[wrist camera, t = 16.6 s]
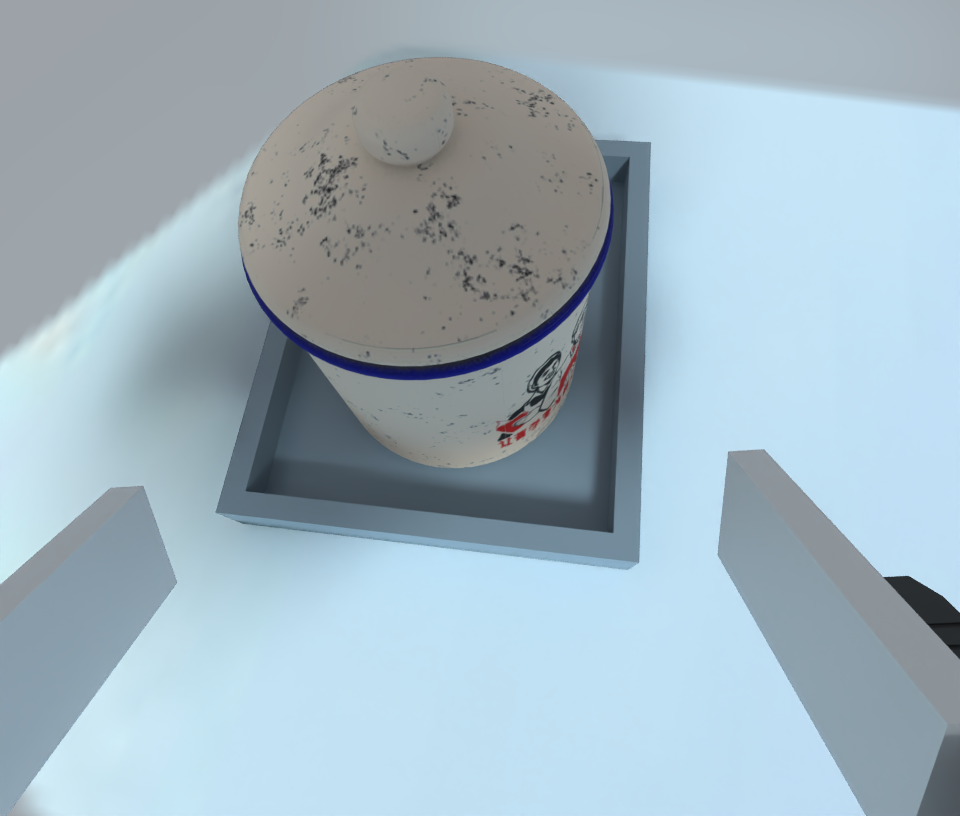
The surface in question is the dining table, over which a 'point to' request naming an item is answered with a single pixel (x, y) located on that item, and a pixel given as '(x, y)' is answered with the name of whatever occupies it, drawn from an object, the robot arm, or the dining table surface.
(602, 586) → the dining table surface
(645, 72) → the dining table surface
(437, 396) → the teacup with lid
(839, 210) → the dining table surface
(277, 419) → the slate tray
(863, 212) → the dining table surface
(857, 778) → the robot arm
